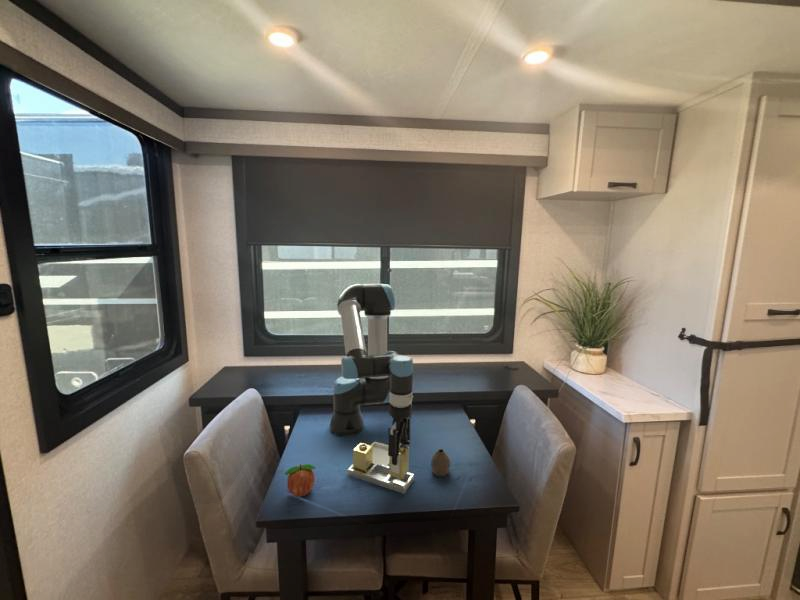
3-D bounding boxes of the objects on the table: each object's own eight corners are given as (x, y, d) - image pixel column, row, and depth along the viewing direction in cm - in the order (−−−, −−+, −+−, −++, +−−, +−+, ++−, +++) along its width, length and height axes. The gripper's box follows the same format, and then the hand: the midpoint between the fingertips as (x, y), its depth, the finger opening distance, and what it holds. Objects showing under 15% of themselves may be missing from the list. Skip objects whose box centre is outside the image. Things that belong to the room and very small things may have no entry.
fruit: (315, 500, 109) (314, 471, 108) (284, 504, 107) (283, 474, 106) (316, 482, 118) (315, 455, 116) (287, 485, 116) (286, 458, 114)
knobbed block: (389, 475, 116) (389, 449, 115) (395, 466, 121) (396, 441, 119) (402, 479, 114) (403, 453, 112) (408, 470, 118) (409, 445, 117)
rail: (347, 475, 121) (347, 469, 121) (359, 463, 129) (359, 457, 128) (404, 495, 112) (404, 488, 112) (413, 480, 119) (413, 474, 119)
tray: (358, 461, 130) (358, 456, 130) (374, 445, 141) (374, 441, 140) (387, 470, 125) (387, 465, 125) (400, 453, 136) (400, 448, 135)
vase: (444, 482, 119) (445, 458, 118) (427, 475, 123) (428, 452, 121) (452, 471, 125) (453, 449, 124) (435, 465, 128) (436, 443, 127)
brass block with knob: (353, 473, 122) (353, 448, 121) (360, 465, 127) (360, 441, 125) (365, 477, 120) (365, 451, 119) (372, 469, 125) (372, 444, 123)
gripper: (399, 417, 104) (397, 486, 107) (421, 394, 120) (419, 455, 123) (377, 412, 107) (376, 479, 110) (401, 390, 123) (400, 450, 127)
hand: (399, 466), depth 117 cm, fingers closed on knobbed block, 5 cm apart
